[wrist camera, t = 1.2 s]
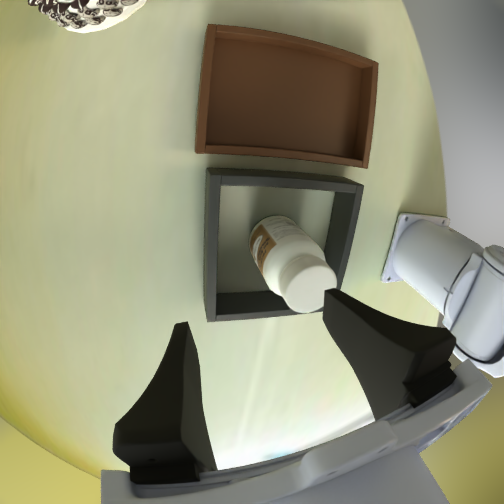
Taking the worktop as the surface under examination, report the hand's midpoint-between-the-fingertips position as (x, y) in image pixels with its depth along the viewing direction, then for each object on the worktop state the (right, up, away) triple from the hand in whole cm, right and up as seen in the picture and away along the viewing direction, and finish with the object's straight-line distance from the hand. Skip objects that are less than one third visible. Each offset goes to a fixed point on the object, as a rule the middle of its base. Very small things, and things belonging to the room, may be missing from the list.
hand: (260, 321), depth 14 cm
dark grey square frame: (+1, +5, +9) cm, 10 cm away
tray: (+2, +15, +4) cm, 16 cm away
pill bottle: (+1, +5, +9) cm, 10 cm away
